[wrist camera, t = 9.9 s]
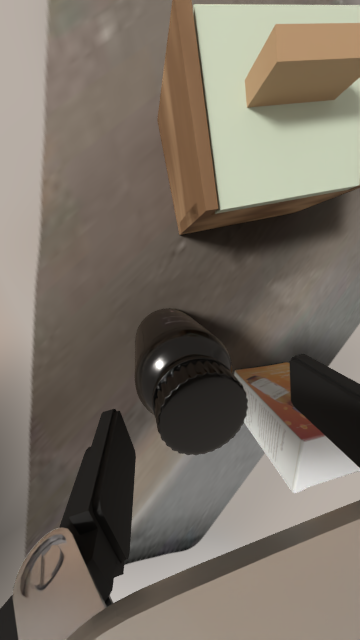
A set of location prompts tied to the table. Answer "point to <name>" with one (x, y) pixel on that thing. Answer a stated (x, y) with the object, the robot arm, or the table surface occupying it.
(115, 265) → the table surface
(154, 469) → the table surface
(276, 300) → the table surface
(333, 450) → the small box
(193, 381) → the supplement bottle
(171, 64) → the brown wooden box
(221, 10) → the lid
